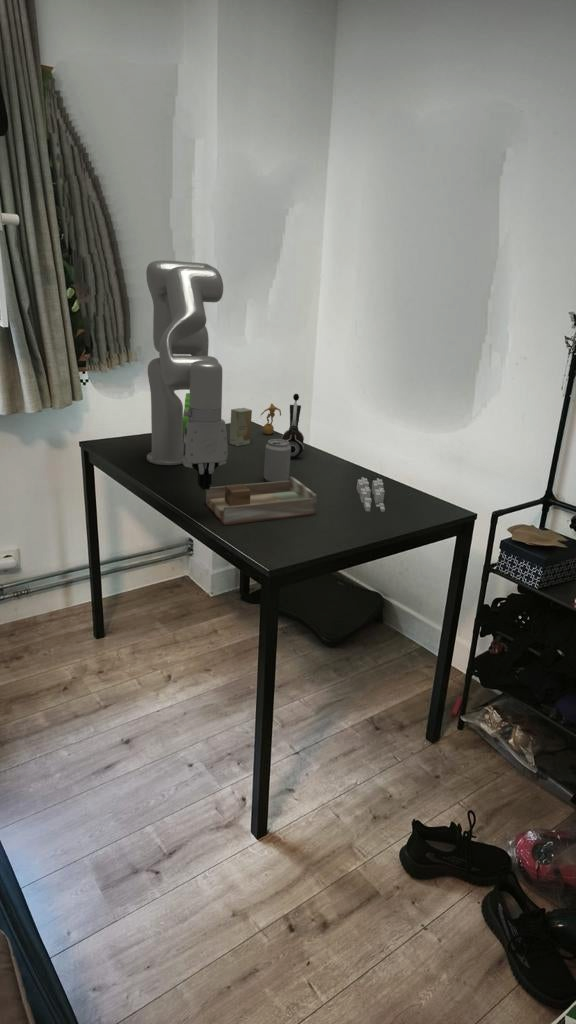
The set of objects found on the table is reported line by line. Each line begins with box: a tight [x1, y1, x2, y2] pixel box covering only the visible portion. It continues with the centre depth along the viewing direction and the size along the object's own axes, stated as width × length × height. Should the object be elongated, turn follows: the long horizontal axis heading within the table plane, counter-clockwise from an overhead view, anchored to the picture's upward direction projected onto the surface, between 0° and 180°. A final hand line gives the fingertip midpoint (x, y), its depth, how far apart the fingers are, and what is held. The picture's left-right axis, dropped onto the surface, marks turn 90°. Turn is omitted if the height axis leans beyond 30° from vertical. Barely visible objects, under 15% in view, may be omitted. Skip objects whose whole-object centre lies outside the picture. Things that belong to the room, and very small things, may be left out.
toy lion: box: [183, 392, 190, 441], centre depth 222 cm, size 16×5×15 cm, turn 1°
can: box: [263, 438, 291, 482], centre depth 186 cm, size 8×8×12 cm
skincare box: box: [229, 407, 253, 447], centre depth 218 cm, size 6×4×12 cm
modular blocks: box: [356, 476, 386, 513], centre depth 176 cm, size 20×7×4 cm, turn 1°
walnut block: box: [224, 483, 251, 506], centre depth 161 cm, size 5×5×4 cm
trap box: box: [205, 476, 318, 526], centre depth 165 cm, size 15×25×6 cm, turn 115°
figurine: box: [260, 403, 282, 435], centre depth 232 cm, size 8×6×12 cm
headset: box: [281, 393, 305, 459], centre depth 210 cm, size 17×8×20 cm, turn 178°
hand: (204, 487), depth 156 cm, fingers closed
